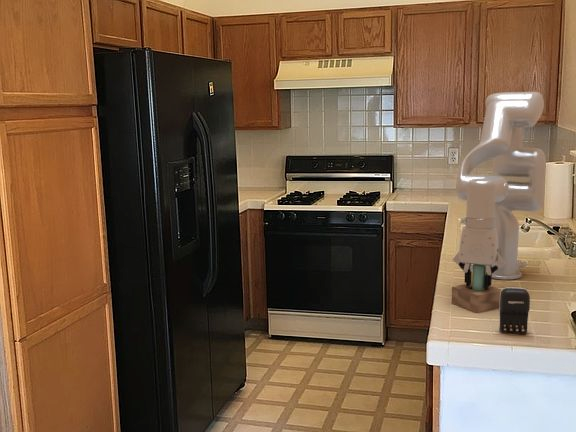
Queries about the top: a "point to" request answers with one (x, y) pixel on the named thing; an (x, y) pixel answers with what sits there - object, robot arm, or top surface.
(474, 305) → the socket block
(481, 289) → the dowel
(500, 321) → the battery charger
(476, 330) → the top surface
